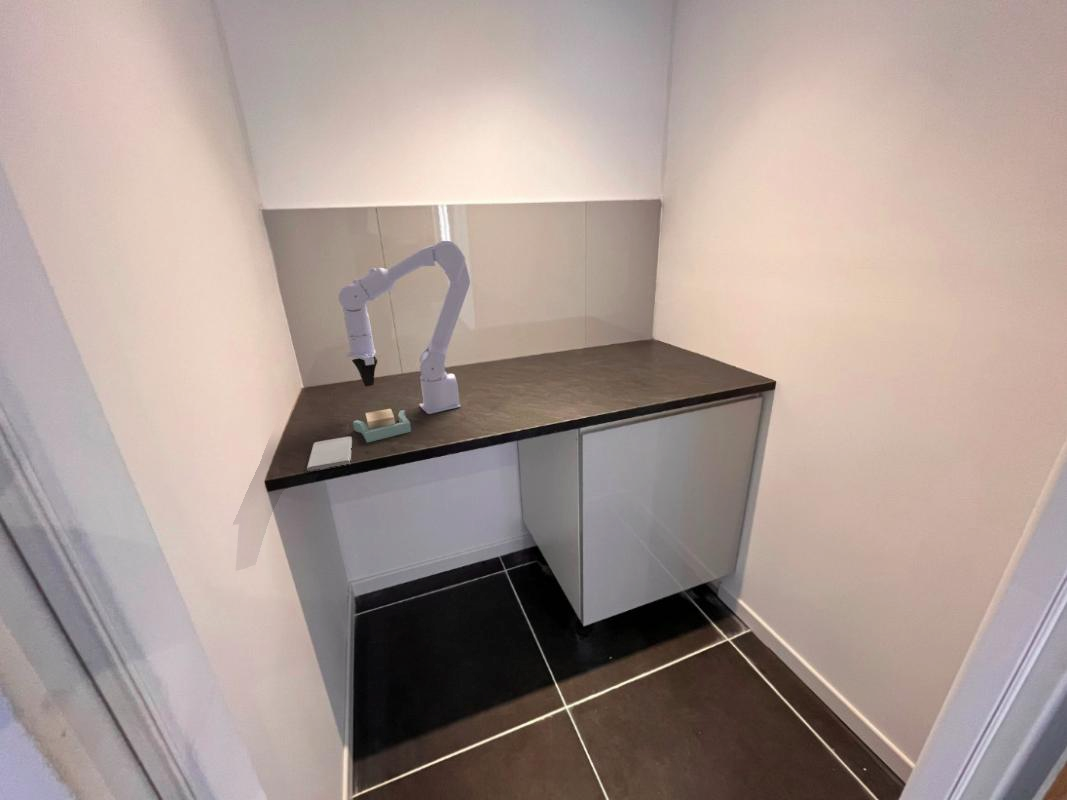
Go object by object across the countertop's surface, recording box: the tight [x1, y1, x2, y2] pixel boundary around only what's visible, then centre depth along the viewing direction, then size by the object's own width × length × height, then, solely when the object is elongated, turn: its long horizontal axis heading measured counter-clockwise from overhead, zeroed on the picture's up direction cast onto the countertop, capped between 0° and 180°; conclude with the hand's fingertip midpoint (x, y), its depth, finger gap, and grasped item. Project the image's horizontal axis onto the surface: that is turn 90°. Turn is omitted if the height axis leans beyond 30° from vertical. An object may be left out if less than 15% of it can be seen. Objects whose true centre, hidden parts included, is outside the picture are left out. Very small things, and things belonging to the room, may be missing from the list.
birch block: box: [365, 408, 396, 430], centre depth 102 cm, size 6×6×4 cm
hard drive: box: [306, 436, 353, 471], centre depth 92 cm, size 2×8×12 cm
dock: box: [352, 409, 412, 443], centre depth 103 cm, size 13×9×2 cm
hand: (369, 385), depth 110 cm, fingers closed
